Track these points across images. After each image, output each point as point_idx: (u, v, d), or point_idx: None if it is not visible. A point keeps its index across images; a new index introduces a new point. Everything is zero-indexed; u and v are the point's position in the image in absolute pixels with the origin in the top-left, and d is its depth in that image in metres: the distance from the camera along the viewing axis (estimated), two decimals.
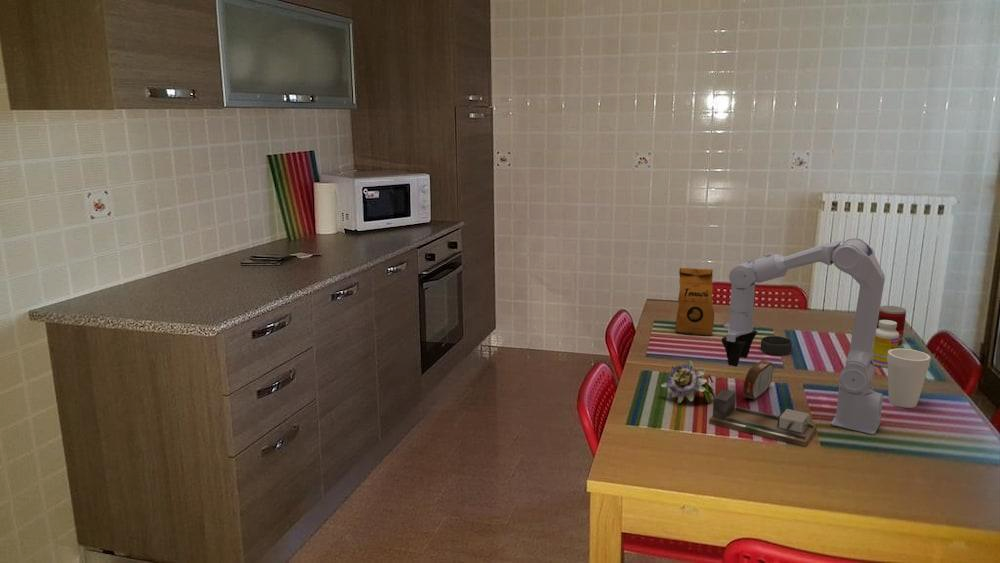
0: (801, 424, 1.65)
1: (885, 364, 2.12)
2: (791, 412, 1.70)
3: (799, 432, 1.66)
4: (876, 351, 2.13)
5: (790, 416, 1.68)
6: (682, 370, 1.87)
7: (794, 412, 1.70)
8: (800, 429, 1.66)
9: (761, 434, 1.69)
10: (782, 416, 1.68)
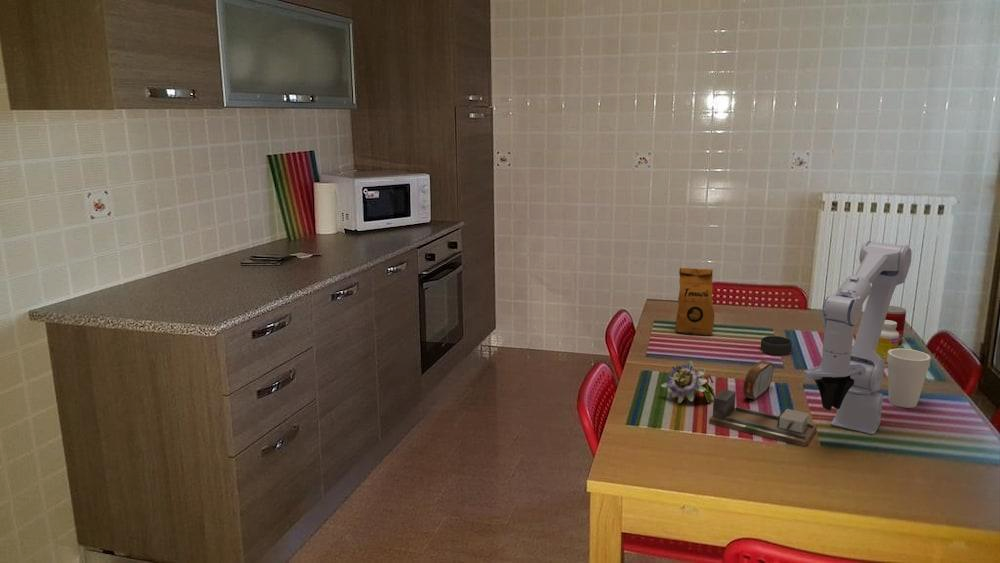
0: (801, 424, 1.65)
1: (885, 364, 2.12)
2: (791, 412, 1.70)
3: (799, 432, 1.66)
4: (876, 351, 2.13)
5: (790, 416, 1.68)
6: (682, 370, 1.87)
7: (794, 412, 1.70)
8: (800, 429, 1.66)
9: (761, 434, 1.69)
10: (782, 416, 1.68)
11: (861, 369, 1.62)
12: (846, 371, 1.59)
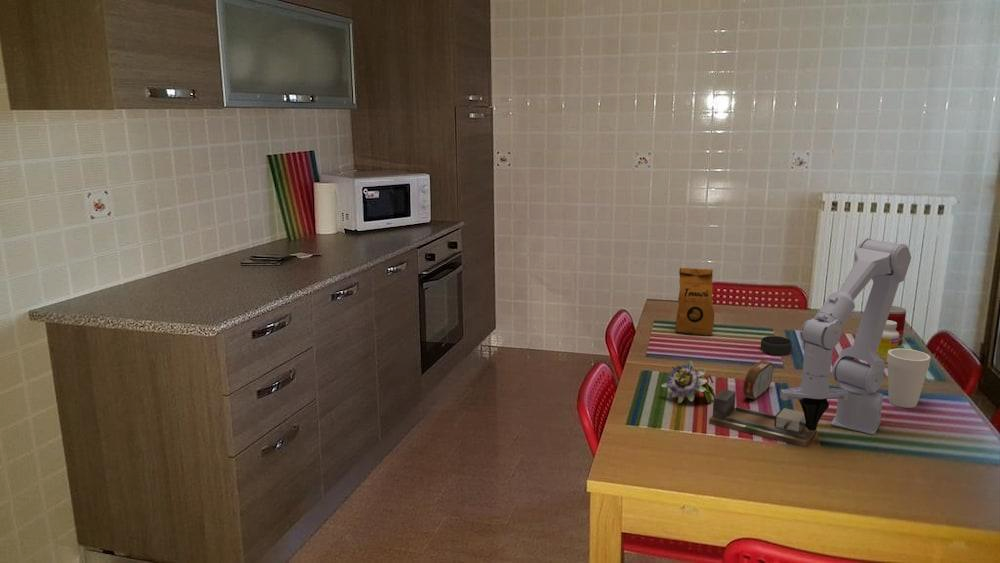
0: (798, 423, 1.66)
1: (885, 364, 2.12)
2: (788, 411, 1.71)
3: (796, 431, 1.66)
4: None
5: (787, 415, 1.69)
6: (682, 370, 1.87)
7: (791, 411, 1.71)
8: (797, 428, 1.66)
9: (761, 434, 1.69)
10: (779, 415, 1.69)
11: (842, 393, 1.64)
12: (822, 394, 1.62)
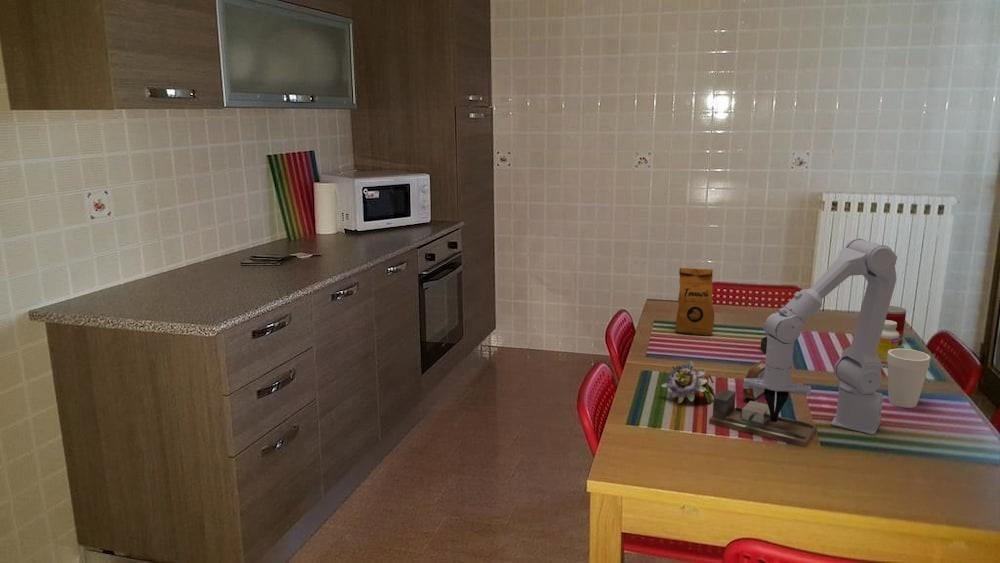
0: (762, 415, 1.70)
1: (885, 364, 2.12)
2: (754, 404, 1.75)
3: (761, 423, 1.71)
4: None
5: (752, 408, 1.73)
6: (682, 370, 1.87)
7: (757, 404, 1.75)
8: (761, 420, 1.70)
9: (761, 434, 1.69)
10: (745, 408, 1.73)
11: (804, 389, 1.67)
12: (779, 386, 1.67)
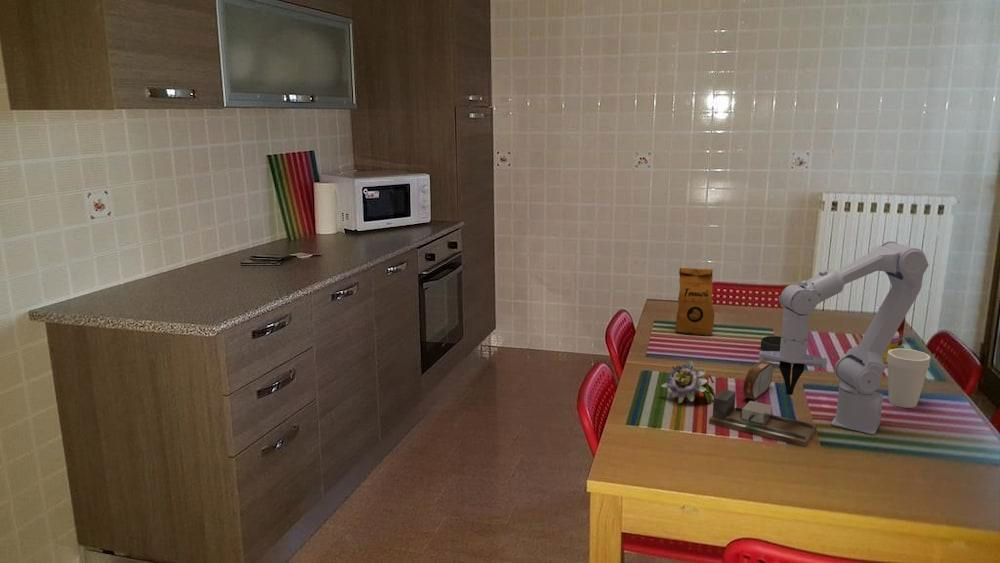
0: (762, 415, 1.70)
1: (885, 364, 2.12)
2: (754, 404, 1.75)
3: (760, 423, 1.71)
4: None
5: (752, 408, 1.73)
6: (682, 370, 1.87)
7: (757, 404, 1.75)
8: (761, 420, 1.70)
9: (761, 434, 1.69)
10: (745, 408, 1.73)
11: (820, 361, 1.66)
12: (795, 358, 1.67)
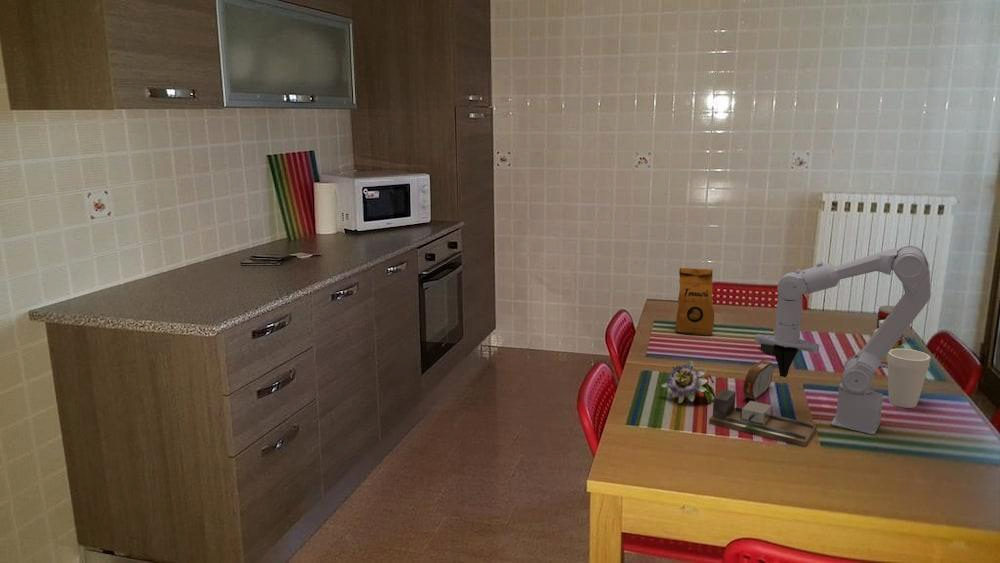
0: (762, 415, 1.70)
1: (885, 364, 2.12)
2: (754, 404, 1.75)
3: (760, 423, 1.71)
4: None
5: (752, 408, 1.73)
6: (683, 370, 1.87)
7: (757, 404, 1.75)
8: (761, 420, 1.70)
9: (761, 434, 1.69)
10: (745, 408, 1.73)
11: (811, 346, 1.74)
12: (786, 342, 1.76)
